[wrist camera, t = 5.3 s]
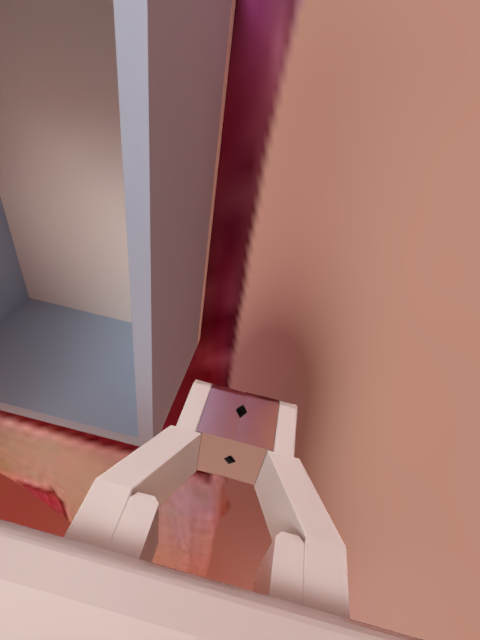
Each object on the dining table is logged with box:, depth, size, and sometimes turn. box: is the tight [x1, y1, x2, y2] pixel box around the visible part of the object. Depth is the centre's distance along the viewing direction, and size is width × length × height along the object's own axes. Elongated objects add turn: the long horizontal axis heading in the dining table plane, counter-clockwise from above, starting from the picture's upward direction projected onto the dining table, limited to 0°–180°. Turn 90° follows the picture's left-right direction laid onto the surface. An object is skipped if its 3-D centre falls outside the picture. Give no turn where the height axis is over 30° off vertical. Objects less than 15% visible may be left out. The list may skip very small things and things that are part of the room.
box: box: [0, 0, 236, 447], centre depth 17 cm, size 20×14×10 cm
